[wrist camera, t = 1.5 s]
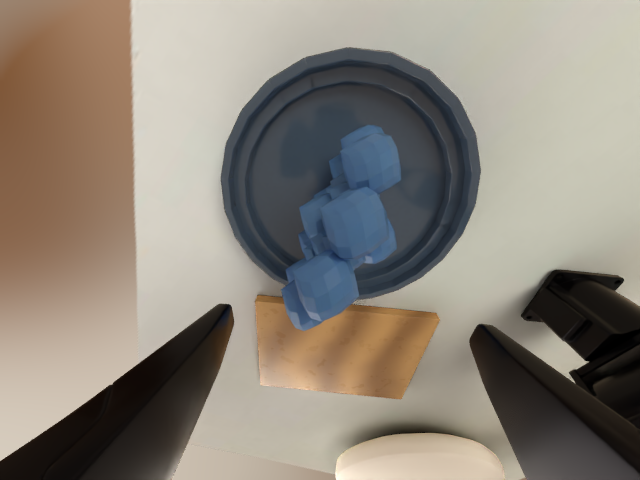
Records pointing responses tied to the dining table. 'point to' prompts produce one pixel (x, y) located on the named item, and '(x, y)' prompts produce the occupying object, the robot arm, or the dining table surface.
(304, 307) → the grapes
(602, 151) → the dining table surface
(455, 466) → the plate
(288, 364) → the bamboo board
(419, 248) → the round blue tray
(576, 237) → the dining table surface
